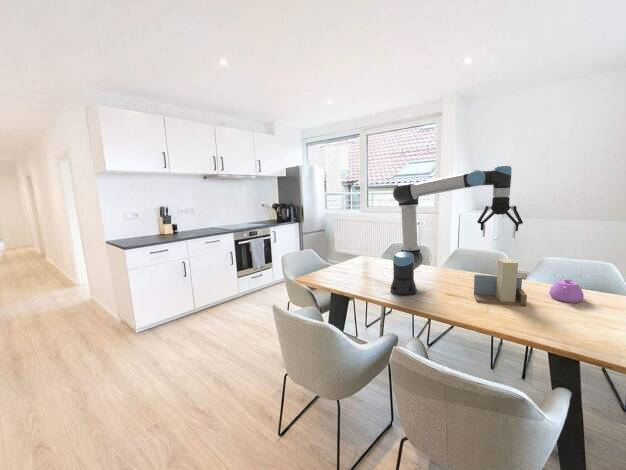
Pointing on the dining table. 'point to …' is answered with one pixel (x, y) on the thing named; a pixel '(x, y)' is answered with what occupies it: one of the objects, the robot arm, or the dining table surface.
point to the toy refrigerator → (506, 280)
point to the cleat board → (487, 291)
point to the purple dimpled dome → (566, 291)
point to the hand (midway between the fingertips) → (498, 236)
